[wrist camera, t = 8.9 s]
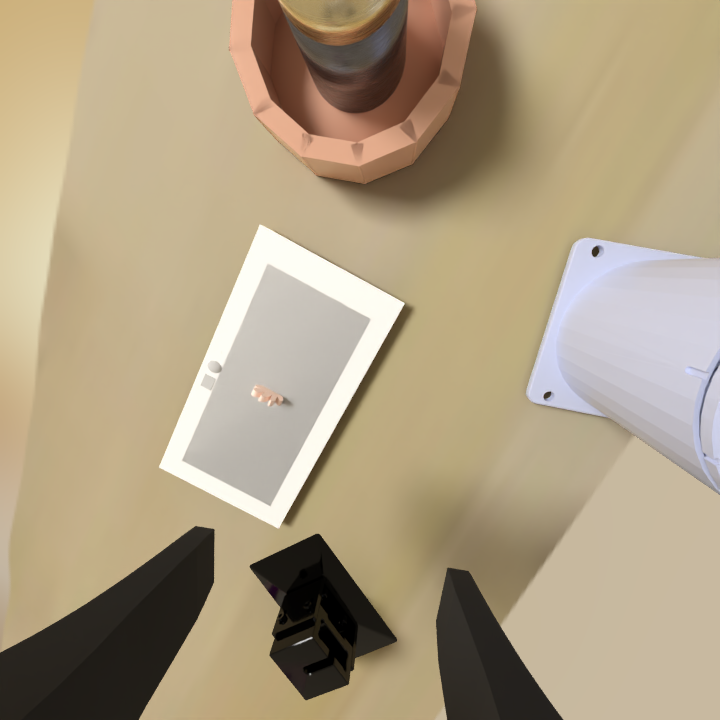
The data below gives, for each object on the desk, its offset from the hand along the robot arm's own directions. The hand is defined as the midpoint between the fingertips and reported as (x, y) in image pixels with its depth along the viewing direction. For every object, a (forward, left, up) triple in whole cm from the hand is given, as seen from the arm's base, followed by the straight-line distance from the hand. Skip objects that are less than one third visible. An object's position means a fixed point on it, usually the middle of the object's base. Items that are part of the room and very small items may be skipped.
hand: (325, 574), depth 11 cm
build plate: (0, +12, -10) cm, 16 cm away
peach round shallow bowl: (+3, -17, -9) cm, 20 cm away
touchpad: (+5, -2, -10) cm, 11 cm away
